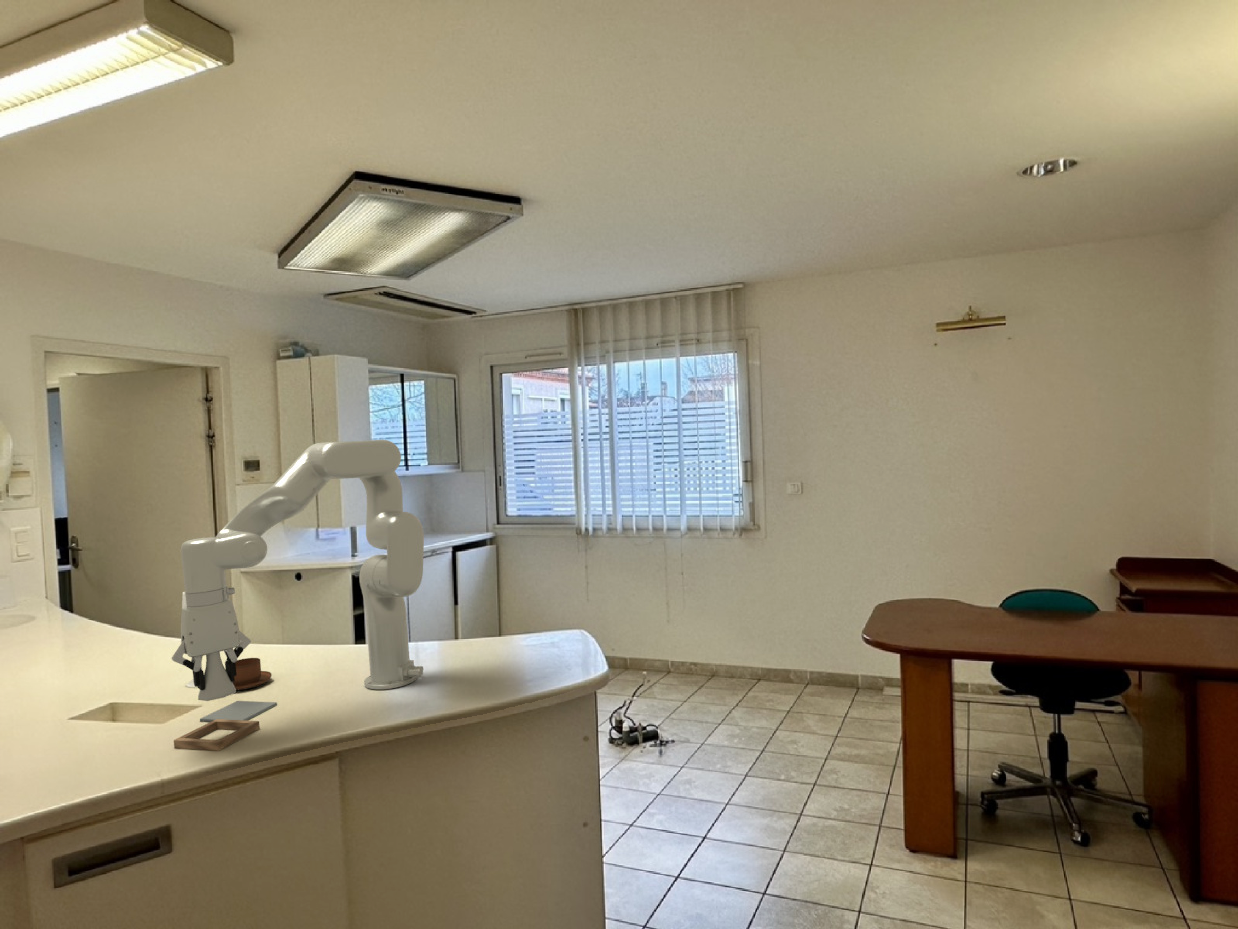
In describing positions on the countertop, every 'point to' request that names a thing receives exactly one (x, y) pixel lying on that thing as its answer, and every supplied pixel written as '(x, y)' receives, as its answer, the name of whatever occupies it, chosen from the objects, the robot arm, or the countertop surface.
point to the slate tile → (239, 711)
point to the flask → (215, 679)
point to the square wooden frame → (241, 731)
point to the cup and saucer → (249, 674)
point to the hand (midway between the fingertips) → (216, 683)
